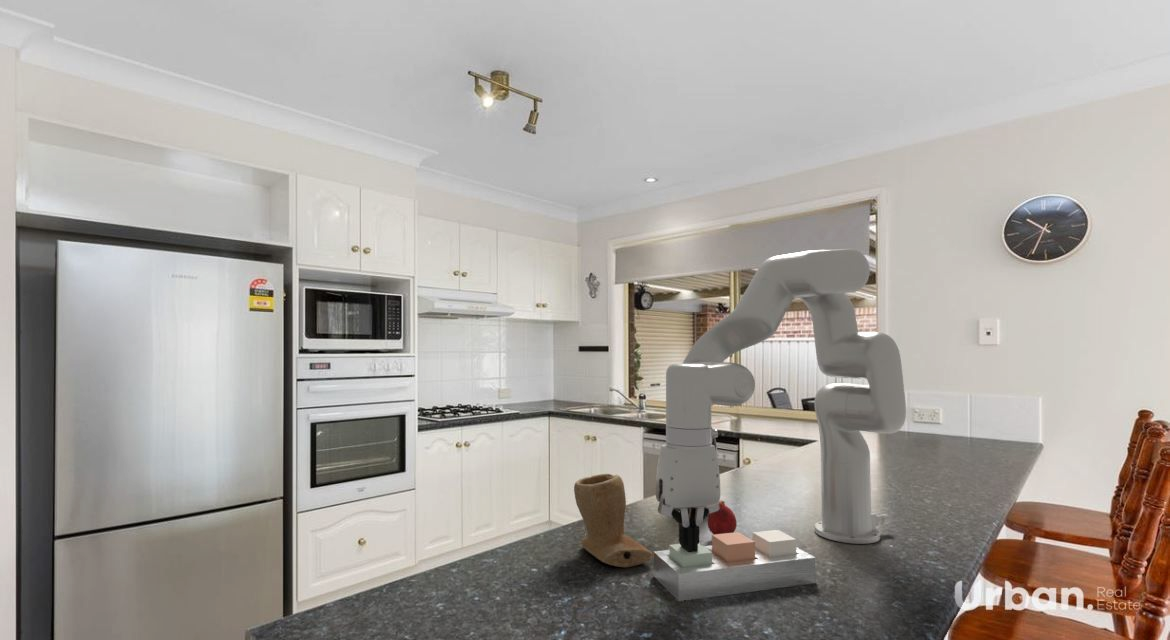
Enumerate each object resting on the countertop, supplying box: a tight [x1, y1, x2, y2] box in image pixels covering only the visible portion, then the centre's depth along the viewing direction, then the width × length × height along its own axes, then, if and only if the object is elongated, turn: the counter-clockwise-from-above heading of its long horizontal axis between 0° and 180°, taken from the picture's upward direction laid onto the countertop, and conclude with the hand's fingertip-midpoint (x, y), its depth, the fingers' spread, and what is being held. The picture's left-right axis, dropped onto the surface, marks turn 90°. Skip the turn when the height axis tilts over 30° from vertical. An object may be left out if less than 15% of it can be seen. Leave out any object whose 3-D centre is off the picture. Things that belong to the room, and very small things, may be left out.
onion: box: [707, 499, 737, 535], centre depth 116 cm, size 6×6×8 cm
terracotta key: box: [711, 531, 755, 563], centre depth 96 cm, size 5×5×3 cm
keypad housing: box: [652, 544, 817, 602], centre depth 96 cm, size 25×10×4 cm, turn 106°
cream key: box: [752, 529, 797, 558], centre depth 98 cm, size 5×5×3 cm
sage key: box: [668, 543, 712, 568], centre depth 94 cm, size 5×5×3 cm
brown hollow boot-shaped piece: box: [573, 473, 654, 568], centre depth 107 cm, size 15×12×15 cm
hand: (689, 548), depth 94 cm, fingers closed
